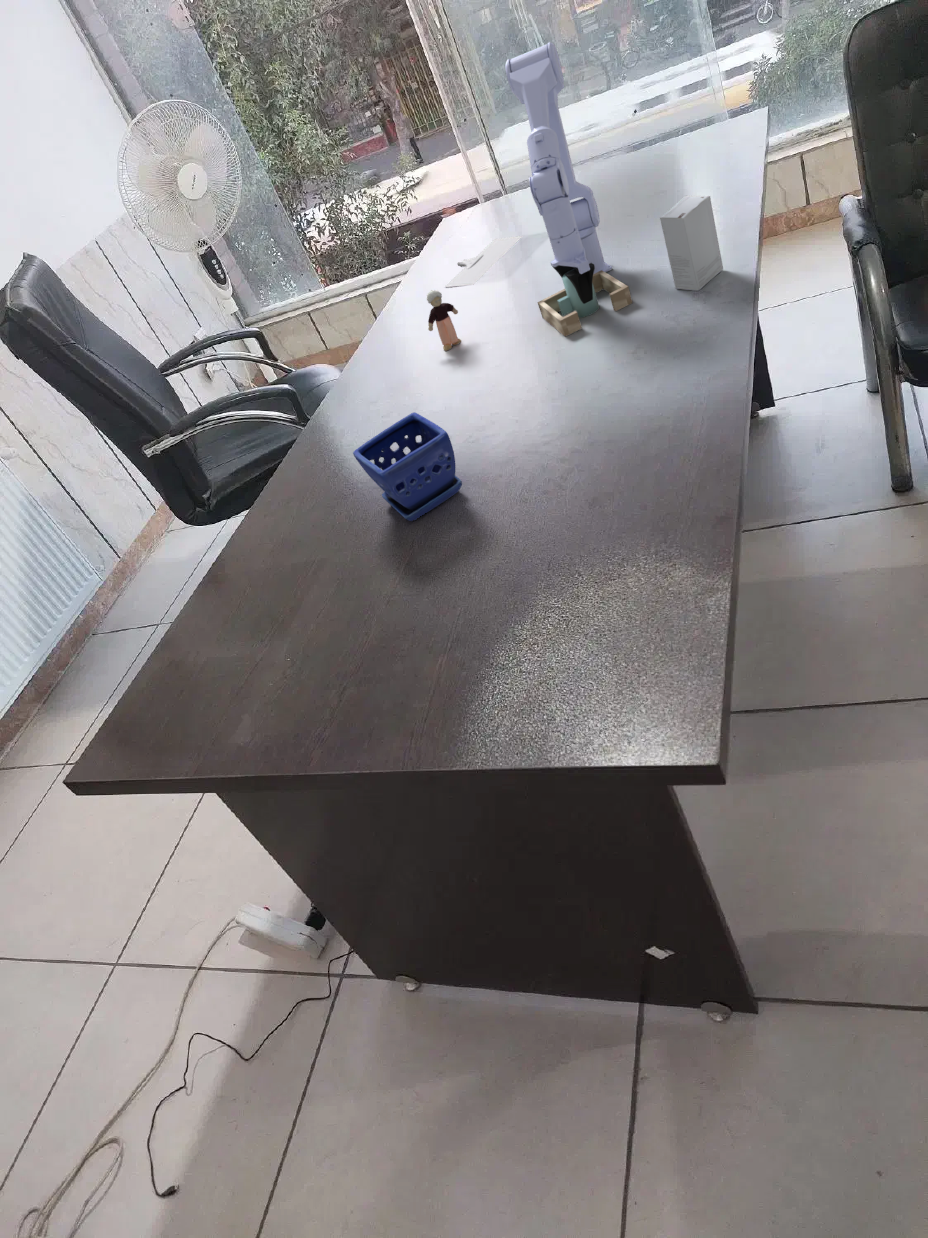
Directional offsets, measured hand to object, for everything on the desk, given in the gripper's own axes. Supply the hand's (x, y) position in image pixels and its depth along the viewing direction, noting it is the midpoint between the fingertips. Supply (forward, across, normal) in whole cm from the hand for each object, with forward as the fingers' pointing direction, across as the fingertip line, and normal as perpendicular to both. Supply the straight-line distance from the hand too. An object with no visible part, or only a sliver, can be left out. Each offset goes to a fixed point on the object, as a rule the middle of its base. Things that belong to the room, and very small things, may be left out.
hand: (582, 297), depth 176 cm
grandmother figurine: (+3, -16, -26) cm, 31 cm away
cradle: (+3, +1, 0) cm, 3 cm away
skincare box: (+3, +11, +20) cm, 23 cm away
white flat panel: (+3, -53, -4) cm, 53 cm away
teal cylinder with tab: (+3, 0, -1) cm, 3 cm away
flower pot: (+3, +39, -47) cm, 61 cm away
